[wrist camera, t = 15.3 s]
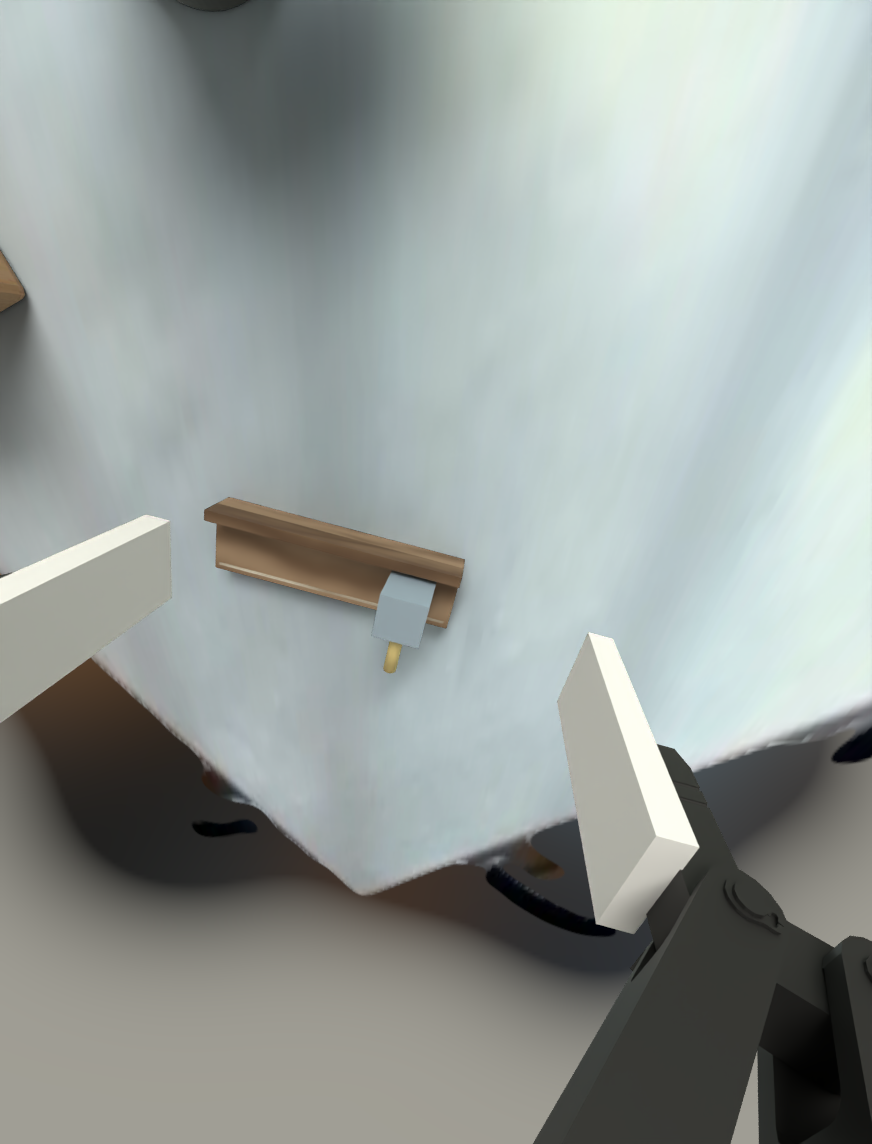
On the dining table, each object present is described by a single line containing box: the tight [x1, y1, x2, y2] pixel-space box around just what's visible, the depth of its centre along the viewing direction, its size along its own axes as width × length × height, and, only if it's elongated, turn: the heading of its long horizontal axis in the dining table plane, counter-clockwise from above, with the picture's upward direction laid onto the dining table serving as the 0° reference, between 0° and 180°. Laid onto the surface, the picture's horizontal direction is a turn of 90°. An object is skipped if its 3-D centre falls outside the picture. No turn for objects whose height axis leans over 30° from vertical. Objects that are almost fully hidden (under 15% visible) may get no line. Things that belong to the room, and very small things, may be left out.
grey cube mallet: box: [371, 570, 436, 673], centre depth 51 cm, size 10×5×7 cm, turn 166°
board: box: [204, 497, 465, 628], centre depth 53 cm, size 8×28×5 cm, turn 77°
